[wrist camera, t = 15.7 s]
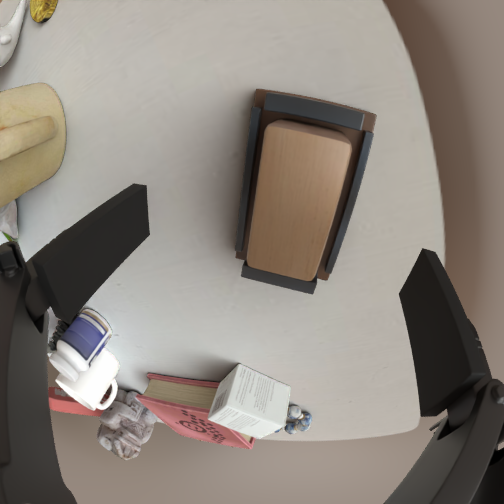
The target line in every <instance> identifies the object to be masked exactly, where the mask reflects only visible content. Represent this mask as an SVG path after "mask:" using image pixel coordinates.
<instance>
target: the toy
mask: <svg viewBox="0 0 504 504" xmlns="http://www.w3.org/2000/svg"><path fill="white" fill-rule="evenodd" d="M25 9H26V0H21V1H20V2H19V4H18V6H17V9H16V11H15V13H14V15H13V17H12V19H11V21H10V22H9V23H8V24H7V25H6V26H2V27H0V68H1V67H2V66H4V65H5V64H6V63H7V62H8V61H9V59H10V58H11V56H12V54H13V52H14V50H15V47H16V44H17V41H18V38H19V34H20V30H21V26H22V22H23V18H24V14H25Z"/></svg>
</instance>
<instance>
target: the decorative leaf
mask: <svg viewBox="0 0 504 504" xmlns="http://www.w3.org/2000/svg"><path fill="white" fill-rule="evenodd" d="M3 234H4V235H5V236H6V238H7V239H8V240H9V241H12V239H11V238H10V236H9V235H8V234H6V233H4V232H3Z"/></svg>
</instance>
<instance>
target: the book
mask: <svg viewBox="0 0 504 504" xmlns="http://www.w3.org/2000/svg"><path fill="white" fill-rule="evenodd" d="M147 377H148V378H149V379H150V383H149V385H148V387H147V389H146V391H145V392H144V394H143V395H140V394H137V395H136V398H137V399H138V400H139V401H140V402H141V403H142V404H143V405H144V406H145V407H147V408H148V409H149V410H150V411H151V412H152V413H154V414H155V415H156V416H157V417H158V418H160V419H161V420H162V421H163V422H164V423H166V424H167V425H168V426H170V427H171V428H172V429H173V430H175V431H176V432H177V433H178V434H180V435H182V436H186V437H190V438H194V439H198V440H200V441H201V440H203V441H207V442H212V443H217V444H222V445H228V446H231V447H239V448H246V449H252V447H253V445H254V442H255V439H256V438H255V437H252V436H249V435H246V434H243V433H240V432H238V431H235V430H232V429H230V428H227V427H225V426H222V425H220V424H217V423H215V422H212V421H210V420H208V415H209V412H210V409H211V406H212V403H213V400H214V398H215V395H216V392H217V389H218V386H219V384H220V383H217V382H207V381H198V380H189V379H182V378H175V377H168V376H162V375H156V374H151V373H148V375H147Z"/></svg>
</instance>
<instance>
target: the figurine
mask: <svg viewBox="0 0 504 504" xmlns="http://www.w3.org/2000/svg"><path fill="white" fill-rule="evenodd" d="M137 394H138V393H136V392H133V391H131V392H129V393H128V392H126V391H124V390H117V394H116V397H115V399H114V400H113V402H112V403H111V405H110V406H109V407H108V408H106V409H105V410H104V411H103V413H102V414H101V416H100V418H99V419H100V422H101V423H102V424H101V425H100V427H99V429H98V432H97V440H98V442H99V443H100V444H101V445H102V446H104V447H105V448H106V449H108V450H110V451H112V452H113V453H114V454H115V455H117V456H118V457H120V458H121V459H124V460H128V459H131V458H135V457H137V456H138V454H139V451H140V450H141V448H140V446H141V444H143V443H145V442H146V441H148V439H149V438H150V436H151V433H152V431H153V427H154V423H155V422H156V421H157V418H158V417H157V416H156V415H155V414H154V413H152V412H151V411H150V410H149V409H148V408H147V407H145V406H144V405H143V404H142V403H141V402H140V401H139V400H138V399H137V398H136V395H137Z"/></svg>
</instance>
